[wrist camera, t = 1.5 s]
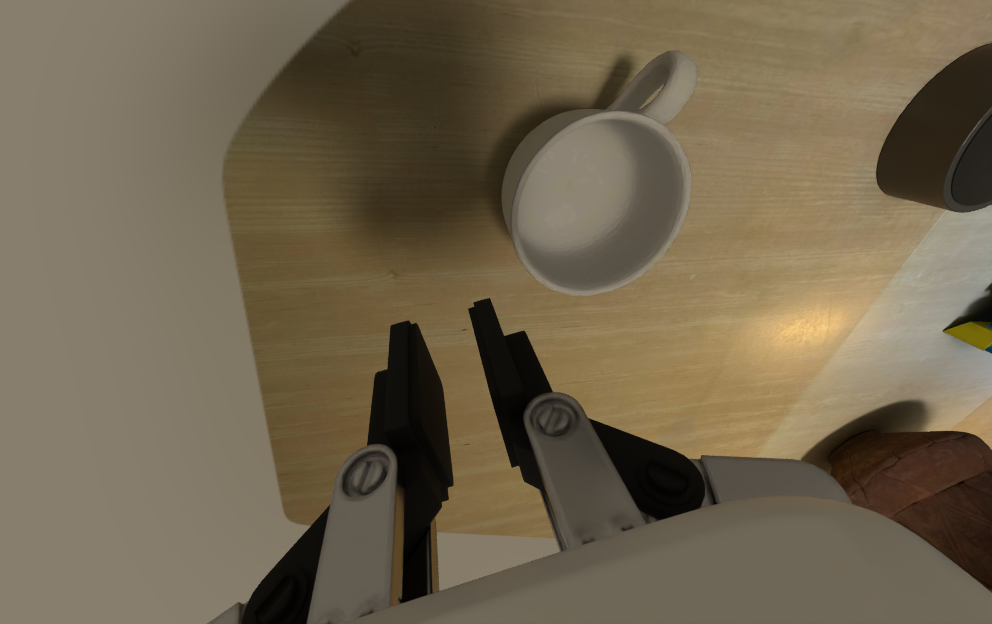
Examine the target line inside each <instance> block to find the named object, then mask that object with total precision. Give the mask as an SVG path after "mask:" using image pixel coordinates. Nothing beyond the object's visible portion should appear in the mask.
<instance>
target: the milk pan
mask: <svg viewBox="0 0 992 624" xmlns="http://www.w3.org/2000/svg"><path fill="white" fill-rule="evenodd" d="M877 180H878V184H879V186H880V188H881V189H882V190H883V192H885V193H886V194H888V195H891V196H894V197H898V198H902V199H906V200H910V201H914V202H918V203H922V204H926V205H930V206H934V207H938V208H942V209H946V210H950V211H954V212H962V213H964V212H971V211H975V210H979V209H982V208H984V207H987V206H989V205H991V204H992V44H987V45H985V46H982V47H979V48H976V49H974V50H972V51H970V52H968V53H967V54H965V55H963V56H962V57H960V58H958V59H957V60H955V61H954V62H953V63H951V64H950V65H949V66H947V67H946V68H945V69H943V70H942V71H941V72H940V73H939V74H937V75H936V76H935V77H934V78H933V79H932V80H931V81H930V82H929V83H928V84H927V85H926V86H925V87H924V88H923V89H922V90H921V91H920V92H919V93H918V94H917V96H916V97H915V98H914V99H913V100H912V101H911V103H910V104H909V105H908V106H907V108H906V109H905V110H904V112H903V113H902V115H901V116H900V117H899V119H898V121H897V122H896V124H895V125H894V127H893V129H892V130H891V132H890V134H889V136H888V138H887V140H886V142H885V144H884V146H883V149H882V152H881V154H880V158H879V162H878V167H877Z"/></svg>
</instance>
